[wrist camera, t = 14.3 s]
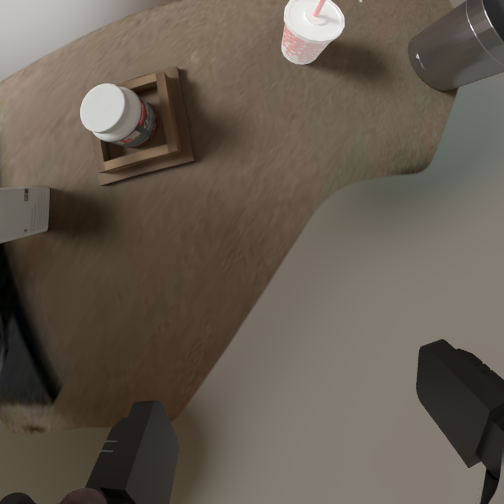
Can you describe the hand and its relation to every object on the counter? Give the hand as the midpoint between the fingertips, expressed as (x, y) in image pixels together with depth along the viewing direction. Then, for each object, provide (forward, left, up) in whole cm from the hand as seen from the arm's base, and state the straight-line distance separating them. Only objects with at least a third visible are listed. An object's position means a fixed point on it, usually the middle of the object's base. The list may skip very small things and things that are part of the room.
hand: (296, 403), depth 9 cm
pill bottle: (+11, -16, -29) cm, 35 cm away
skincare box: (+28, -10, -30) cm, 42 cm away
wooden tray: (+11, -16, -30) cm, 36 cm away
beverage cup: (-10, -22, -30) cm, 39 cm away
